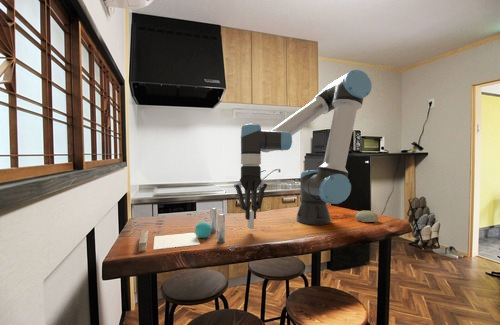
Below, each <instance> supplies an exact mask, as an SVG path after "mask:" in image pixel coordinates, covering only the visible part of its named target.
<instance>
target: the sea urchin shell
mask: <svg viewBox="0 0 500 325" xmlns="http://www.w3.org/2000/svg"><path fill="white" fill-rule="evenodd" d="M355 219H356V220H357V221H358V222H360V221H361V222H362V223H364V222H376V223H377V222H379V216H378V214H377V213H375V212H374V211H371V210H360V211H358V212H357V213H356V214H355Z"/></svg>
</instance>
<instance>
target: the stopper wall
mask: <svg viewBox="0 0 500 325" xmlns="http://www.w3.org/2000/svg"><path fill="white" fill-rule="evenodd" d="M148 241H149V230H142V231H141V233H140V237H139V241H138V252H139V253H140V252H147V249H148Z"/></svg>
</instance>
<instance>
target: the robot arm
mask: <svg viewBox="0 0 500 325" xmlns="http://www.w3.org/2000/svg"><path fill="white" fill-rule="evenodd" d="M372 84H373V83H372V81H371V78H370V77H369V75H368V74H367V73H366V72H364V71H362V70H360V69H352V70H350V71H347V72H345V73H344V74H343V75H342V76H340V77H339V78H337V79H335V80H333V81H332V82H330V83H328V85H327V86H325V88H323V89H322V90H321V91H320V92H318V94H316V95H315V96H313V98H312V100H311V101H310V102H309V103H307V104H306V105H305V106H303V107H301V108H300V109H299V110H297V111H296V112H295V113H293V114H291V115H290V116H289V117H287V118H286V119H284V120H283V121H282V122H281V123H279V124H277V125H276V126H274V127H273V128H272V129H271V130H263V129H262V126H261V124H257V123H256V124H255V123H247V124H243V125H242V126H241V127H240V128H241V131H240V165H242V166H240V178H239V182H237V183H235V184H233V187H234V189H235V191H236V193H237V194H236V195H237V198H238V202H239V207H240V209H241V210H242V211H244V212H245V214H244V216H245V220H247V228H248V229H249V230H252V229H253V230H254V228H255V225H254V224H255V220H256V219H257V211H258V210H259V209H261V208H262V205H263V204H262V203H263V199H264V196H265V191H266V188H267V187H268V184H267V183H265V182H263V180H262V177H261V175H262V174H261V173H262V171H261V166H260V165H261V164H262V161H261V160H262V154H261V153H262V152H263V153H271V152H274V151H282V152H283V151H289V150H290V149H291V148H292V144H293V137H292V136H294V135H295V134H296V133H297V132H299V131H300V130H302V129H303V128H305V127H306V126H308V125H309V124H310V123H312V122H313V121H315V120H316V119H318V117H320V116H322V115H327V114H329V112H331V111H333V110H334V111H333V116H332V120H331V125H330V129H329V135H328V139H327V143H326V144H327V145H326V148H325V153H324V158H323V162H322V164H321V165H319V166H318V169H310V170H309V169H308V170H304V171H302V172H301V173H300V178H299V180H300V182H299V185H300V204H299V208H298V210H297V213H296V221H297V222H299V223H303V224H307V225H314V226H315V225H327V224H330V223H331V221H332V217H331V213H330V211H329V208H328V207H329V206H328V204H333V205H334V204H335V205H337V204H342V202H345V201H346V200H347V199H348V197H350V194H351V191H352V184H351V182H350V179H349V178H348V175H349V172H348V170H347V169H346V165H347V160H348V155H349V151H350V146H351V145H350V144H351V140H352V136H353V135H352V134H353V131H354V126H355V121H356V116H357V111H359V110H360V109H361V108H362V107H363V102H364V98H367V96H369V95H370V93H371V91H372V87H373V85H372ZM242 187H243V189H244V196H243V191H242ZM258 188H259V189H258ZM257 193H258V194H257Z"/></svg>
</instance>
